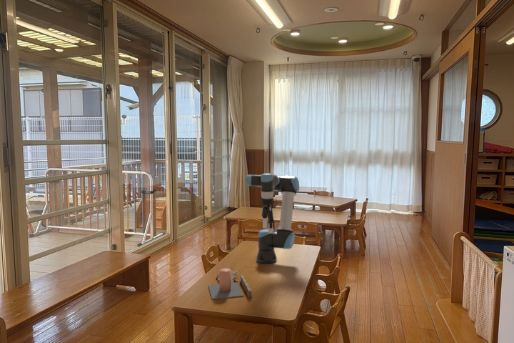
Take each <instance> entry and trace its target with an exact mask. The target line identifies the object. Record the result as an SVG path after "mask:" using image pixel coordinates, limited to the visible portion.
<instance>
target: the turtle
mask: <svg viewBox="0 0 514 343" xmlns="http://www.w3.org/2000/svg"><path fill="white" fill-rule="evenodd" d="M222 269H230V270H231V268H230V267H227V266H226V267H223V268H222ZM240 272H241V270H236V271H233V270H231V283H235V280H237V279H238V275H237V274H239V273H240ZM215 279H216V280H217V281H218V282H219V273H217V274H216V277H215Z"/></svg>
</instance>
